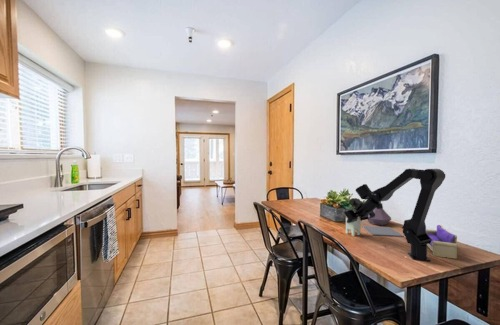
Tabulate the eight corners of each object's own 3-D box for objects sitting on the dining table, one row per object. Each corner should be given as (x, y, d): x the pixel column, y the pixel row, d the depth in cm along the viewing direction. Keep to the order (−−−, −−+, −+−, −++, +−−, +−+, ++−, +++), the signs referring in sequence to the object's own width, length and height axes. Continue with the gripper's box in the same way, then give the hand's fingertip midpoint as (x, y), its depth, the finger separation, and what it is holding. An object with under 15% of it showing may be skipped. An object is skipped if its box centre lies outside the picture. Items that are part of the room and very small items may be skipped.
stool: (360, 234, 127) (360, 218, 126) (353, 235, 124) (353, 219, 124) (352, 231, 131) (352, 215, 131) (345, 233, 129) (345, 216, 129)
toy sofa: (419, 241, 118) (419, 221, 118) (439, 243, 114) (440, 223, 114) (432, 256, 99) (433, 233, 98) (458, 260, 95) (458, 236, 95)
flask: (370, 218, 161) (370, 191, 161) (396, 223, 149) (396, 193, 148) (359, 222, 151) (359, 193, 151) (386, 228, 138) (386, 196, 138)
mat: (403, 236, 123) (403, 235, 123) (373, 235, 125) (373, 234, 125) (389, 228, 139) (389, 227, 139) (362, 226, 141) (362, 225, 141)
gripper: (370, 193, 128) (354, 208, 138) (347, 195, 120) (331, 211, 130) (383, 209, 121) (365, 224, 131) (359, 213, 113) (342, 228, 123)
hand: (350, 221), depth 129 cm, fingers closed on stool, 5 cm apart
